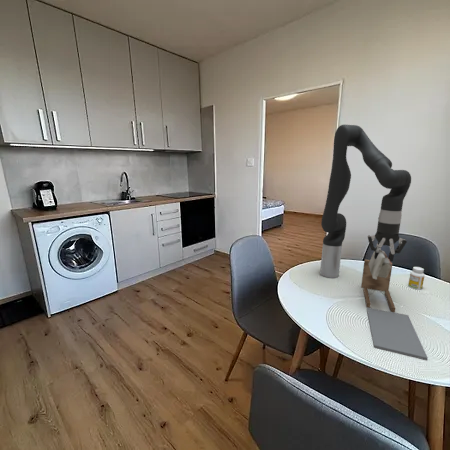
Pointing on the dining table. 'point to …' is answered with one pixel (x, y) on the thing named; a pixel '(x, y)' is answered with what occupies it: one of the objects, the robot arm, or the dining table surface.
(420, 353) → the charcoal pad
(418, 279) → the supplement bottle
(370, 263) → the packaged product
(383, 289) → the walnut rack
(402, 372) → the dining table surface
